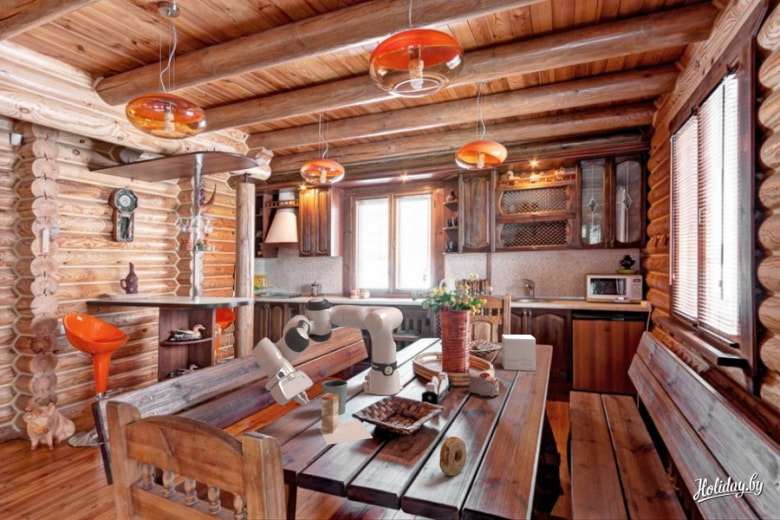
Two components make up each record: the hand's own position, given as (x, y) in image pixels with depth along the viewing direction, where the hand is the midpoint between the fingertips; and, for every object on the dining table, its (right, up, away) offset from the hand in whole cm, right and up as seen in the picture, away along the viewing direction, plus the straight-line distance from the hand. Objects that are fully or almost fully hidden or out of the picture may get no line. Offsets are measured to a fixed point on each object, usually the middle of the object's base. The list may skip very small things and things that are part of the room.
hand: (306, 404), depth 149 cm
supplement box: (+104, -10, +87) cm, 136 cm away
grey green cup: (+8, -9, +16) cm, 20 cm away
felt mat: (+14, -9, -4) cm, 17 cm away
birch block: (+9, -8, -2) cm, 12 cm away
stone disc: (+49, -9, -31) cm, 58 cm away
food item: (+74, -9, +40) cm, 85 cm away
